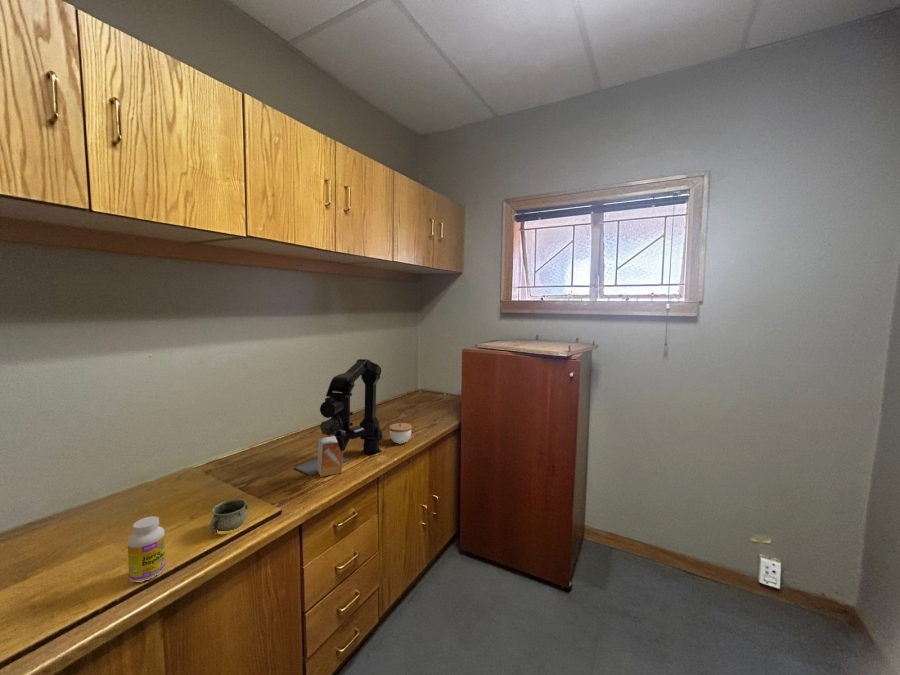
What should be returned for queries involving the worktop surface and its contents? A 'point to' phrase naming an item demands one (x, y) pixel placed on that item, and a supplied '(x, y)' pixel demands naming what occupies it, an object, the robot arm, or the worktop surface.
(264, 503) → the worktop surface
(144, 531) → the supplement bottle
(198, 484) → the worktop surface
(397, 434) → the lidded jar
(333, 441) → the small box
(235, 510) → the vessel
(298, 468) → the mat
